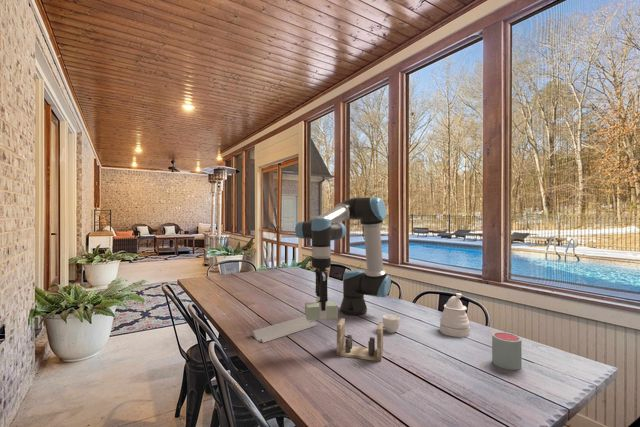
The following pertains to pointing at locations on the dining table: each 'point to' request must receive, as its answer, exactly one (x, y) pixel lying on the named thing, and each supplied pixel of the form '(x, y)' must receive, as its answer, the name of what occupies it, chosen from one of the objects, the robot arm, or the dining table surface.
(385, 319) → the cup
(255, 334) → the crown molding
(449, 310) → the honey pot
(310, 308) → the pale green block
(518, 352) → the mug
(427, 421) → the dining table surface
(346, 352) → the frame
